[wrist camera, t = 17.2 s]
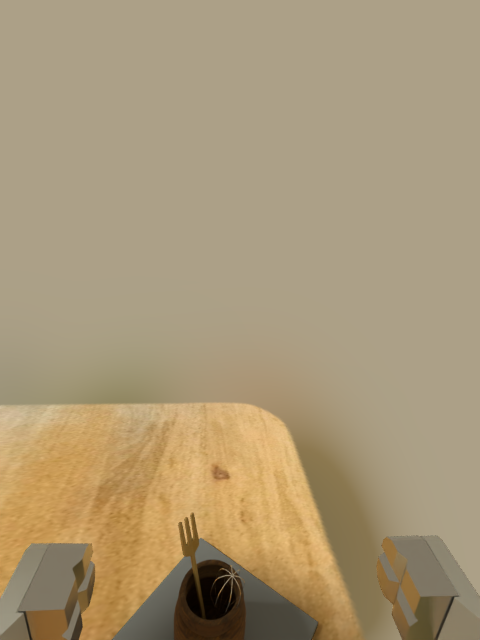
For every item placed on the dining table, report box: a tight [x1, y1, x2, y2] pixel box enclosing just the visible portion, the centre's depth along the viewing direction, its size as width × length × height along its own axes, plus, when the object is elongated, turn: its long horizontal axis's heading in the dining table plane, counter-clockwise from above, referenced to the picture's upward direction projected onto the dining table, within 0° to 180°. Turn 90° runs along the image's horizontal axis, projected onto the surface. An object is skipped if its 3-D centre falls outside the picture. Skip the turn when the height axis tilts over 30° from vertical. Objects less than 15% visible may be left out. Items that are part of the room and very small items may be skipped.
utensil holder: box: [174, 513, 246, 640], centre depth 29 cm, size 6×6×12 cm
